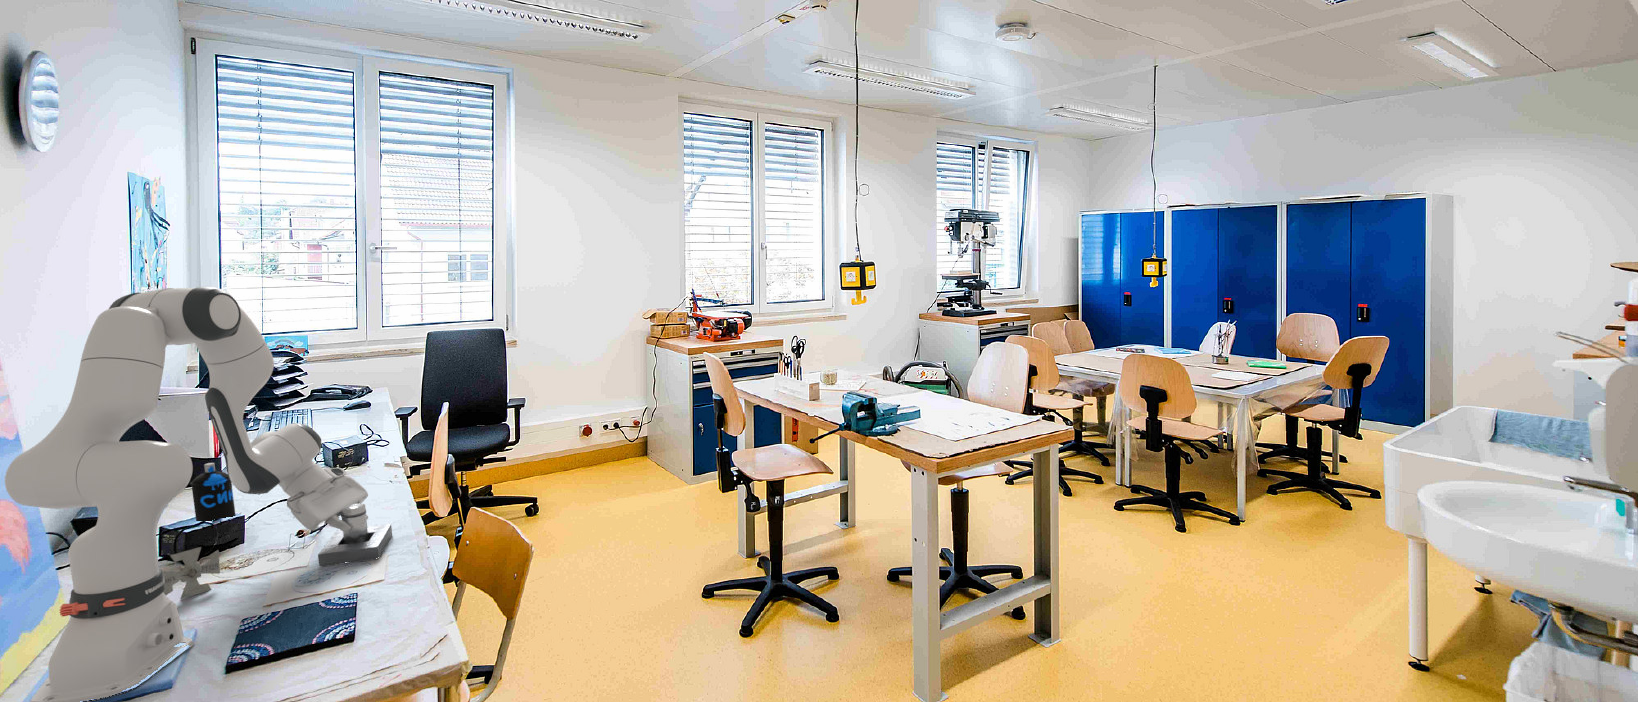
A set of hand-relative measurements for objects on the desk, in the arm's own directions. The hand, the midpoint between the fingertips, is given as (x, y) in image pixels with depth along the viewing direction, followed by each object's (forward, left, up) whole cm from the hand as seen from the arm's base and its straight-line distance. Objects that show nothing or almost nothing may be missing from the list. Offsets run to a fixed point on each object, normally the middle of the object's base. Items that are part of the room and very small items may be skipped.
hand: (357, 525), depth 179 cm
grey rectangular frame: (0, +1, -6) cm, 6 cm away
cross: (-15, +28, -7) cm, 32 cm away
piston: (0, +1, -5) cm, 5 cm away
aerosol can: (+21, +36, -7) cm, 42 cm away
